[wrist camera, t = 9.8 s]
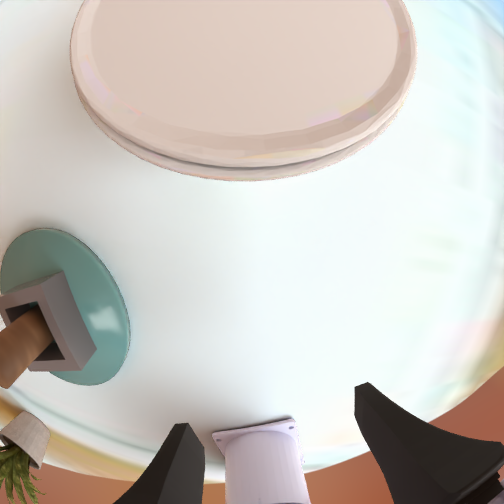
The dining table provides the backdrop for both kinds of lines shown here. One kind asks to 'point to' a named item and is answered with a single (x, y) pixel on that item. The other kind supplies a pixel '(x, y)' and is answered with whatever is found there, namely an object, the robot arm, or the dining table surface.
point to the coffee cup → (243, 80)
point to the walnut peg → (22, 344)
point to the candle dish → (67, 305)
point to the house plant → (22, 454)
